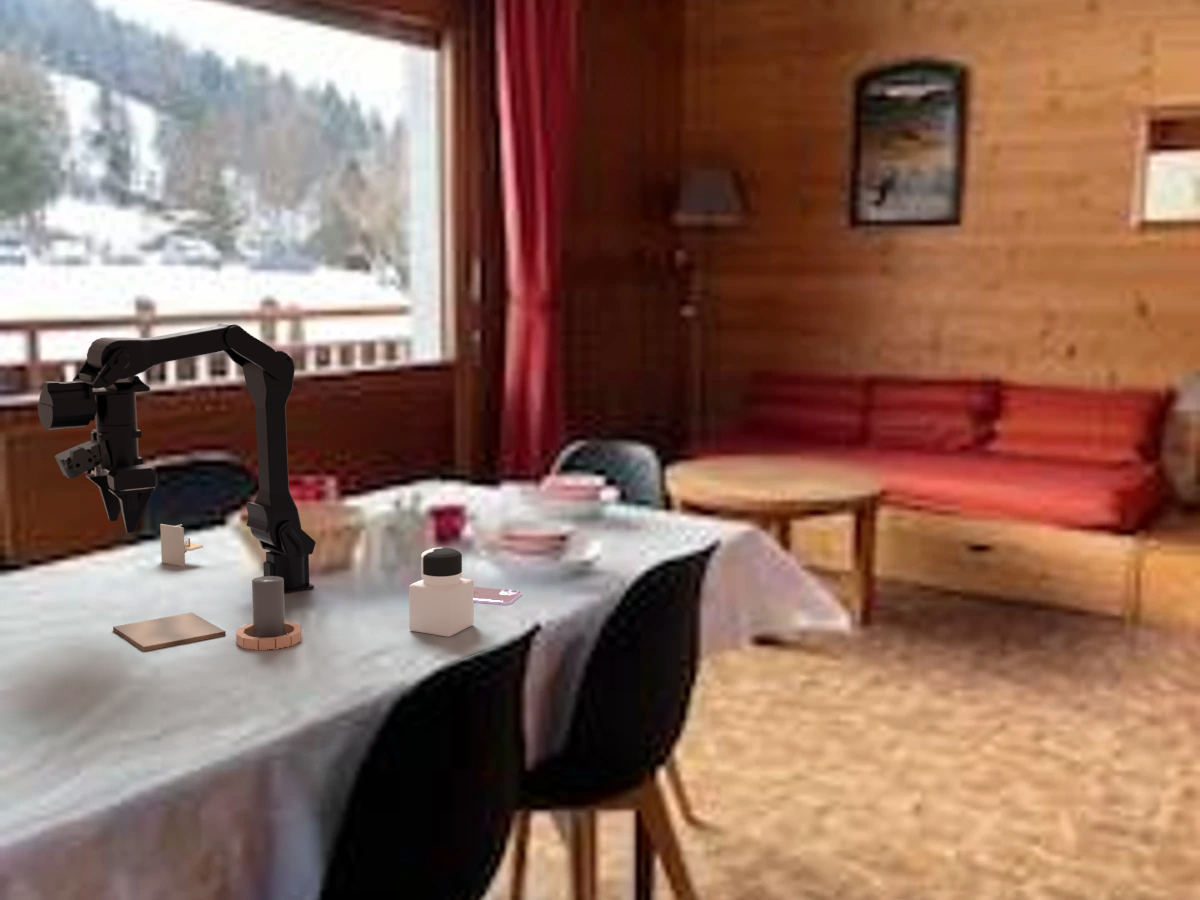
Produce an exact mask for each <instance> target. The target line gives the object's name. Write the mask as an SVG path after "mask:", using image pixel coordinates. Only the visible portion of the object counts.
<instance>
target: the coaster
mask: <svg viewBox="0 0 1200 900" xmlns="http://www.w3.org/2000/svg"><path fill="white" fill-rule="evenodd" d="M112 631H113V632H115V634H118V635H119V636H120V637H122V638H124V639H125V640H127V641H128V642H130V643H131V644H133V645H134V646H135V647H137V648H139V649H140V650H141V651H143V652H145V651H150V650H156V649H157V650H158V649H162V648H166V647H172V646H177V645H182V644H183V645H184V644H188V643H193V642H197V641H204V640H208V639H213V638H218V637H223V636H226V631H225V630H224V629H222V628H221V627H219V626H217V625H215V624H213V623H212V622H210V621H208V620H206V619H204V618H203V617H201V616H199V615H197V614H196V613H194V612H187V613H181V614H175V615H171V616H165V617H160V618H155V619H153V618H152V619H148V620H147V619H146V620H144V621H143V620H142V621H137V622H131V623H126V624H119V625H114V626H113V627H112Z"/></svg>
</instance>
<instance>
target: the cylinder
mask: <svg viewBox="0 0 1200 900" xmlns="http://www.w3.org/2000/svg"><path fill="white" fill-rule="evenodd" d="M251 588H252V589H251V593H252V623H253V634H254V635H253V637H258V638H268V637H278V636H283V635H286V634H285V622H286V621H285V620H286V619H285V618H286V617H285V593H284V579H283V578H282V577H278V576H264V575H263V576H258V577H255V578H253V579H252V580H251Z"/></svg>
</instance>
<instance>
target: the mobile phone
mask: <svg viewBox="0 0 1200 900" xmlns="http://www.w3.org/2000/svg"><path fill="white" fill-rule="evenodd" d="M522 595H523V594H522V592H521V591H520V590H516V589H505V588H504V589H502V588H491V587H480V586H479V587H478V586H474V603H477V604H489V605H499V606H500V605H501V606H508V605H511V604H512V603H514V602H515V601H517V600H518V599H519V598H520V597H521V596H522Z"/></svg>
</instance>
